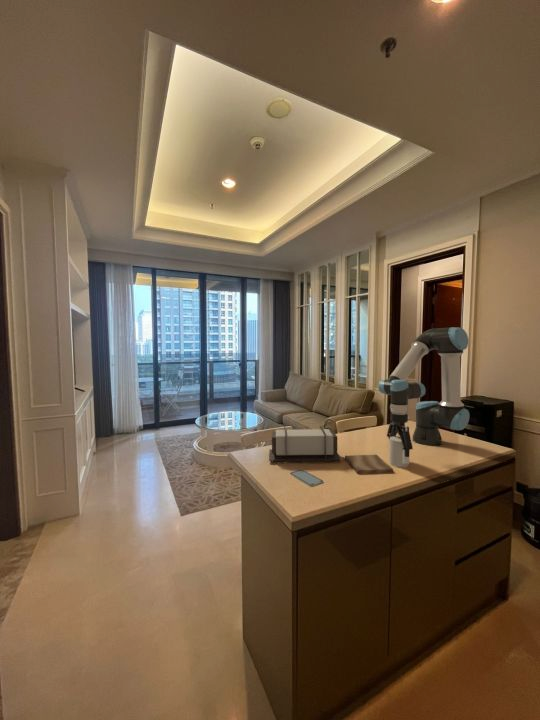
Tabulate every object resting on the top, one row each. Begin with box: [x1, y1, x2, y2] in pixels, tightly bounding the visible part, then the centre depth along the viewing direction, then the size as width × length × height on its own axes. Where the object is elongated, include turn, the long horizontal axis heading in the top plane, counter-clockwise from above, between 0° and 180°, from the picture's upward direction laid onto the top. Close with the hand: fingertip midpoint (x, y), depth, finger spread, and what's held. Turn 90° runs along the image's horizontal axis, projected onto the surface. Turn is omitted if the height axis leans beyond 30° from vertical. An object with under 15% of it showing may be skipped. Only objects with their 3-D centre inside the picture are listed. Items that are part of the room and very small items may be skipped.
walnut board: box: [344, 454, 394, 475], centre depth 142 cm, size 16×18×2 cm
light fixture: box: [268, 425, 342, 463], centre depth 153 cm, size 15×15×35 cm
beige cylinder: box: [389, 435, 409, 468], centre depth 143 cm, size 8×8×12 cm
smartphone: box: [289, 469, 324, 487], centre depth 130 cm, size 7×1×15 cm
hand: (398, 457), depth 143 cm, fingers open, 13 cm apart
